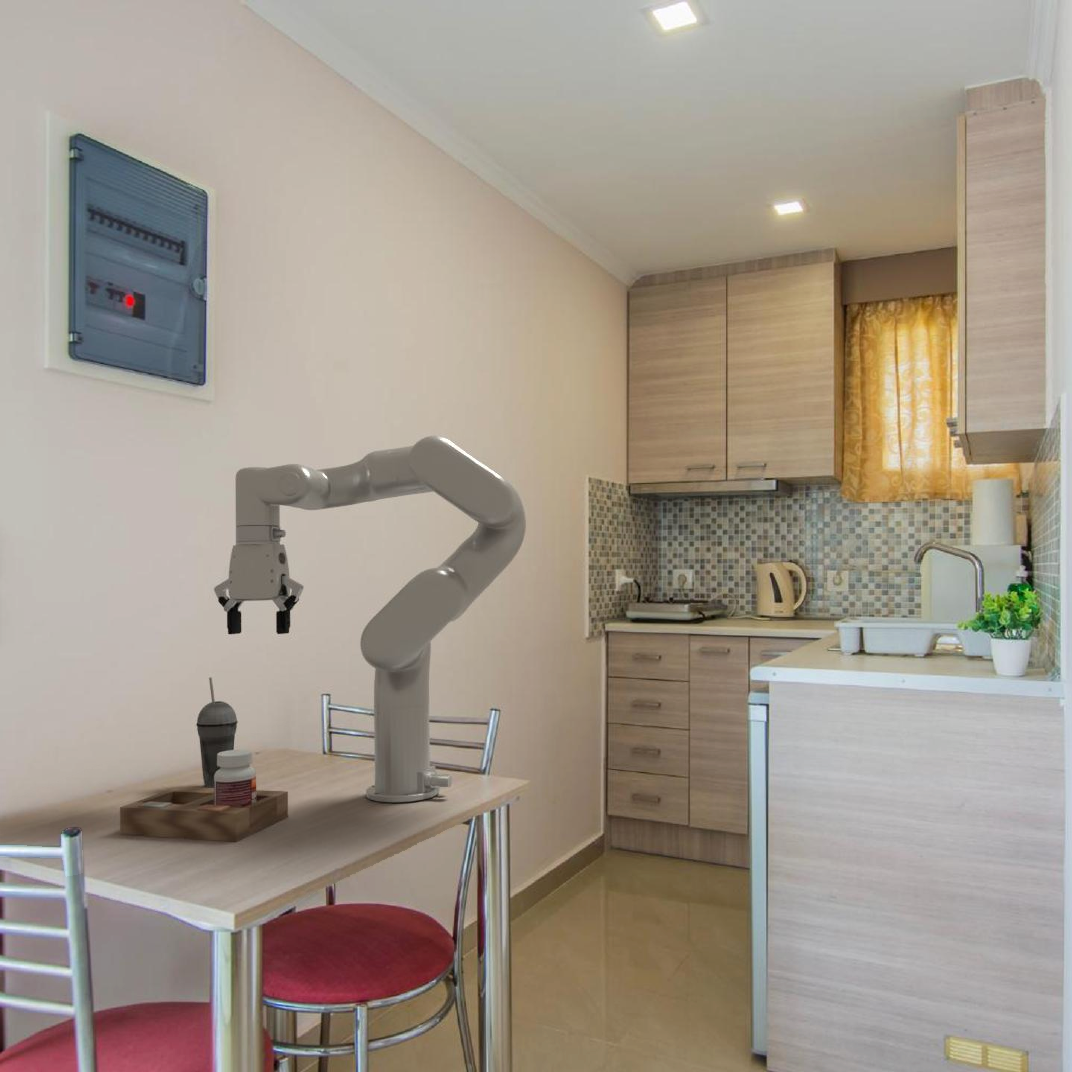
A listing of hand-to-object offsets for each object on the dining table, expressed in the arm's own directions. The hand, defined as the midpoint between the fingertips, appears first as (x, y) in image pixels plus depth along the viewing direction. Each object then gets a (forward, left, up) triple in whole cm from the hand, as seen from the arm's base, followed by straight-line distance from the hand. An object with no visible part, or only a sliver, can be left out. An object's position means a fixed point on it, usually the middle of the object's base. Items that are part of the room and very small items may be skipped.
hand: (258, 633), depth 163 cm
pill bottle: (-8, +19, -28) cm, 35 cm away
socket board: (-3, +20, -28) cm, 34 cm away
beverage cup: (+12, -5, -28) cm, 31 cm away
